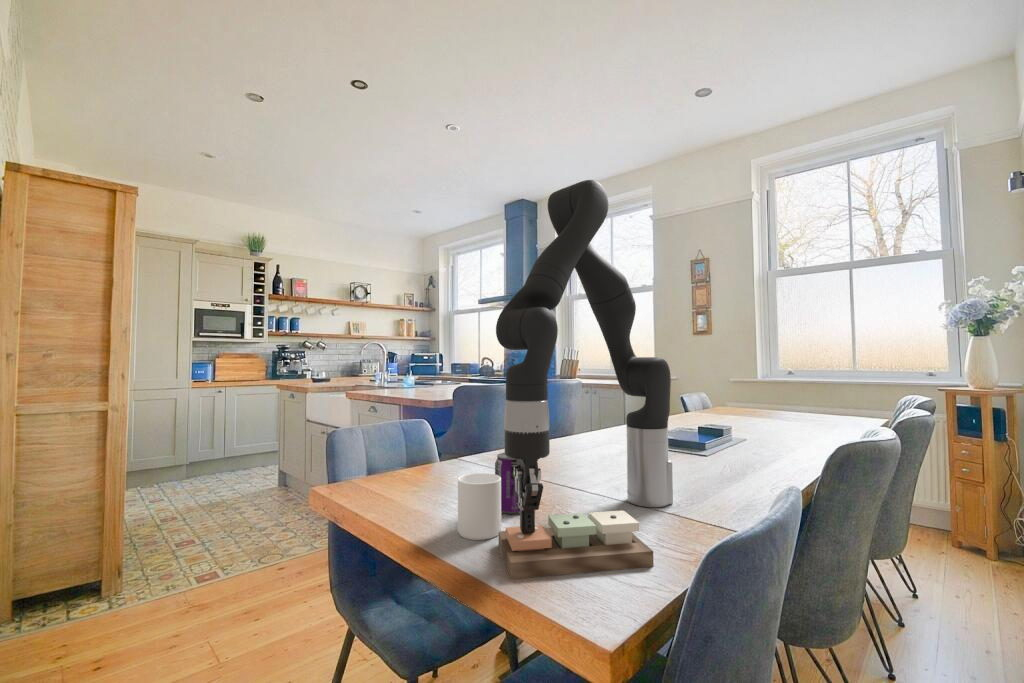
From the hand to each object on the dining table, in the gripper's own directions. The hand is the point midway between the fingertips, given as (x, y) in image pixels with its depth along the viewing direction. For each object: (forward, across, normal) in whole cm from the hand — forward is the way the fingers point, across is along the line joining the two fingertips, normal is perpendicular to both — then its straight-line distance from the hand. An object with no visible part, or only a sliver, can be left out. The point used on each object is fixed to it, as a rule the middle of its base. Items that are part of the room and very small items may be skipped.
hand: (527, 532), depth 78 cm
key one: (+2, 0, -15) cm, 15 cm away
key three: (+4, 0, 0) cm, 4 cm away
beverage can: (+5, +25, -2) cm, 25 cm away
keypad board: (+4, 0, -8) cm, 9 cm away
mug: (+5, +15, +6) cm, 17 cm away
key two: (+2, 0, -8) cm, 8 cm away
